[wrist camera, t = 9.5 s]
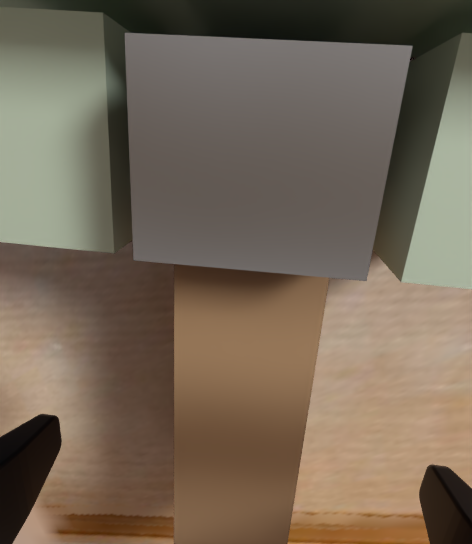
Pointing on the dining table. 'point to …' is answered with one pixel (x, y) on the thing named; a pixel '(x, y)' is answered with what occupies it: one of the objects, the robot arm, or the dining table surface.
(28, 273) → the dining table surface
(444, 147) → the pale green slab
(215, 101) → the hammer
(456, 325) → the dining table surface
